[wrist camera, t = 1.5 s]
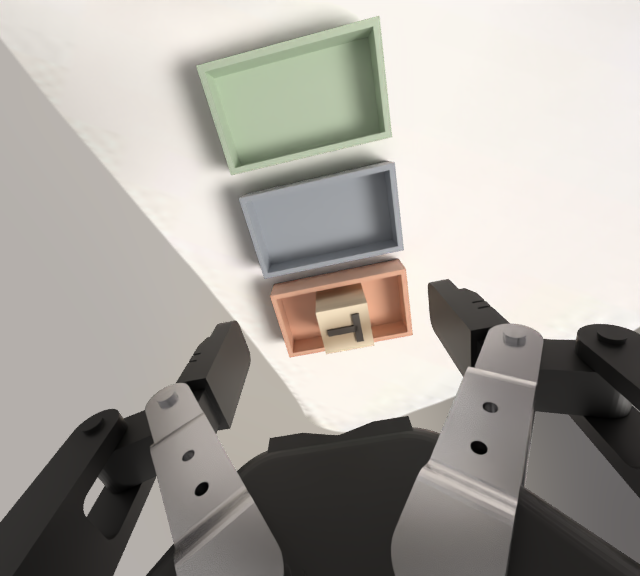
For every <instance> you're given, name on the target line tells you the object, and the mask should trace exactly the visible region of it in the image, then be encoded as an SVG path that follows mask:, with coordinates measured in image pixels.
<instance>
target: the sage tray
mask: <svg viewBox="0 0 640 576" xmlns="http://www.w3.org/2000/svg"><path fill="white" fill-rule="evenodd" d="M196 67H197V70H198V74H199V77H200V80H201V83H202V86H203V89H204V92H205V95H206V98H207V102H208V105H209V108H210V111H211V114H212V117H213V120H214V123H215V126H216V130H217V133H218V136H219V139H220V142H221V145H222V148H223V151H224V154H225V158H226V161H227V164H228V167H229V170H230V173H231V175H235V174H239V173H243V172H247V171H252V170H256V169H260V168H264V167H268V166H272V165H277V164H281V163H285V162H289V161H293V160H298V159H302V158H306V157H310V156H314V155H319V154H323V153H327V152H331V151H335V150H340V149H344V148H348V147H352V146H356V145H361V144H365V143H369V142H373V141H377V140H382V139H386V138H390V137H392V132H391V123H390V113H389V104H388V94H387V84H386V75H385V65H384V56H383V46H382V37H381V27H380V17H379V16H376V17H373V18H369V19H365V20H362V21H358V22H354V23H351V24H347V25H343V26H340V27H336V28H332V29H329V30H325V31H321V32H318V33H314V34H310V35H307V36H303V37H299V38H296V39H292V40H288V41H285V42H281V43H277V44H274V45H270V46H266V47H263V48H259V49H255V50H252V51H248V52H244V53H241V54H237V55H233V56H230V57H226V58H222V59H219V60H215V61H211V62H208V63H204V64H200V65H197V66H196Z"/></svg>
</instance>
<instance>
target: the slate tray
mask: <svg viewBox="0 0 640 576" xmlns="http://www.w3.org/2000/svg"><path fill="white" fill-rule="evenodd" d="M239 201H240V204H241V207H242V210H243V214H244V217H245V220H246V223H247V226H248V229H249V232H250V235H251V238H252V242H253V245H254V248H255V251H256V254H257V257H258V260H259V263H260V266H261V270H262V273H263V276H264V279H266V278H271V277H276V276H280V275H285V274H290V273H295V272H300V271H305V270H310V269H314V268H319V267H324V266H329V265H334V264H339V263H344V262H348V261H353V260H358V259H363V258H368V257H373V256H377V255H382V254H387V253H392V252H397V251H402V250H404V247H403V237H402V228H401V218H400V209H399V199H398V190H397V180H396V171H395V163H394V162H389V161H386V162H381V163H377V164H373V165H368V166H364V167H360V168H356V169H351V170H347V171H343V172H338V173H334V174H330V175H325V176H321V177H317V178H312V179H308V180H304V181H299V182H295V183H291V184H287V185H282V186H278V187H274V188H269V189H265V190H261V191H256V192H252V193H248V194H245V195H243V196H242V197H240V198H239Z"/></svg>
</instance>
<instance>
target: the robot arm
mask: <svg viewBox="0 0 640 576" xmlns="http://www.w3.org/2000/svg"><path fill="white" fill-rule="evenodd" d="M428 297H429V311H430V320H431V324H432V327H433V330H434V332H435V333H436V335H437V336H438V338H439V340H440V341H441V343H442V344H443V346H444V347H445V349H446V351H447V352H448V354H449V355H450V357H451V358H452V360H453V362H454V363H455V365H456V366H457V368H458V369H459V371H460V373H461V374H462V376H463V379H462V382H461V384H460V387H459V389H458V392H457V394H456V396H455V399H454V401H453V404H452V407H451V409H450V411H449V414H448V416H447V419H446V421H445V423H444V426H443V428H442V431H441V433H437V432H434V431H431V430H427V429H421V428H413V427H412V426H411V423H410V420H409V417H408V416H405V417H399V418H392V419H386V420H380V421H374V422H371V423H369V424H366V425H364V426H361V427H359V428H356V429H354V430H351V431H349V432H346V433H344V434H341V435H324V434H311V433H300V434H293V435H287V436H281V437H274V438H270V441H269V447H268V451H266V452H263V453H261V454H260V455H258V456H256V457H254V458H253V459H251V460H250V461H248V462H247V463H246V464H245V465H243V466H242V467H241V468H240V469H239V470H238V471H236V469H235V467H234V466H233V464H232V462H231V460H230V459H229V457H228V455H227V453H226V452H225V450H224V448H223V446H222V444H221V443H220V441H219V439H218V437H217V435H216V433H217V430H223V429H230V427H231V424H232V421H233V418H234V414H235V411H236V408H237V405H238V401H239V398H240V395H241V392H242V389H243V385H244V382H245V379H246V376H247V373H248V369H249V366H250V352H249V349H248V346H247V344H246V341H245V339H244V336H243V334H242V331H241V328H240V326H239V324H238V322H237V321H230V322H225V323H220V324H217V326H216V327H215V329H214V331H213V333H212V335H211V336H210V337H208V338H206V339H205V340H204V341H203V342H202V343H201V344H200V345H199V346H198V347H197V349H196V351H195V352H194V354H193V355H194V356H192V358H191V359H190V361H189V363H188V364H187V366H186V367H185V369H184V371H183V372H182V374H181V376H180V377H179V379H178V381H177V382H176V384H173V385H170V386H168V387H165V388H163V389H162V390H160V391H159V392H157V393H156V394H155V395H154V396H153V397H152V398H151V399H150V400H149V401H148V403H147V404H146V407H145V410H144V411H141V412H140V413H137V414H134V415H131V416H129V417H126V418H124V419H123V417H122V416H121V414H120V413H119V412H118V410H116V409H108V410H104V411H102V412H99V413H97V414H95V415H93V416H91V417H90V418H88V419H87V420H85V421H84V422H83V423H82V424H80V425H79V426H78V427H77V428H76V429H75V430H74V432H73V433H72V434H71V435H70V436H69V438H68V439H67V440H66V441H65V443H64V444H63V445H62V446H61V448H60V449H59V450H58V451H57V453H56V454H55V455H54V457H53V458H52V459H51V460H50V461H49V463H48V464H47V465H46V466H45V468H44V469H43V470H42V471H41V473H40V474H39V475H38V476H37V477H36V479H35V480H34V481H33V483H32V484H31V485H30V486H29V488H28V489H27V490H26V491H25V493H24V494H23V495H22V496H21V497H20V499H19V500H18V501H17V502H16V504H15V505H14V506H13V507H12V509H11V510H10V511H9V512H8V514H7V515H6V516H5V517H4V519H3V520H2V521H1V522H0V576H113V575H114V572H115V570H116V568H117V565H118V563H119V561H120V559H121V556H122V554H123V552H124V550H125V547H126V545H127V543H128V540H129V538H130V536H131V533H132V531H133V529H134V527H135V524H136V522H137V520H138V517H139V515H140V513H141V511H142V508H143V506H144V503H145V501H146V499H147V497H148V495H149V492H150V490H151V488H152V485H153V483H154V481H155V479H156V476H157V479H158V483H159V486H160V491H161V494H162V498H163V503H164V506H165V510H166V514H167V518H168V522H169V526H170V530H171V534H172V538H173V542H174V544H173V545H172V546H171V547H170V548H169V550H168V551H167V552H166V553H165V554H164V555H163V556H162V558H161V559H160V560H159V561H158V562H157V563H156V565H155V566H154V567H153V568H152V569H151V570H150V571H149V573H148V574H147V575H146V576H640V564H639V563H637V562H636V561H634V560H633V559H631V558H630V557H628V556H627V555H625V554H624V553H622V552H621V551H619V550H617V549H616V548H615V547H613V546H612V545H610V544H609V543H607V542H606V541H604V540H603V539H601V538H600V537H598V536H597V535H595V534H594V533H592V532H591V531H589V530H588V529H586V528H585V527H583V526H582V525H580V524H579V523H577V522H576V521H574V520H573V519H571V518H570V517H568V516H567V515H565V514H564V513H562V512H561V511H559V510H558V509H556V508H555V507H553V506H552V505H550V504H549V503H547V502H546V501H544V500H543V499H541V498H540V497H538V496H537V495H536V494H534V493H532V492H531V491H530V490H528V489H527V488H525V483H526V476H527V468H528V460H529V453H530V446H531V439H532V433H533V426H534V419H535V412H536V411H540V412H549V413H560V414H569V416H570V417H571V418H572V419H573V420H574V422H575V423H576V424H577V425H578V426H579V427H580V429H581V430H582V431H583V432H584V433H585V434H586V436H587V437H588V438H589V439H590V440H591V442H592V443H593V444H594V445H595V446H596V447H597V448H598V450H599V451H600V452H601V453H602V454H603V456H604V457H605V458H606V459H607V460H608V461H609V463H610V464H611V465H612V466H613V467H614V469H615V470H616V471H617V472H618V473H619V474H620V476H621V477H622V478H623V479H624V480H625V481H626V483H627V484H628V485H629V486H630V487H631V489H632V490H633V491H634V492H635V493H636V494H637V496H638V497H639V498H640V412H638V411H637V410H636V409H635V408H634V407H633V406H632V404H633V405H634V406H635V407H636V408H637V409H638V410H639V411H640V334H638V333H636V332H634V331H632V330H629V329H626V328H623V327H620V326H615V325H608V324H592V325H587V326H584V327H582V328H580V329H579V330H578V332H577V337H576V340H551V339H543V337H542V335H541V334H540V333H539V332H537V331H536V330H534V329H532V328H530V327H527V326H524V325H519V324H510V323H509V322H508V321H507V320H506V319H504V318H503V317H502V316H501V315H500V314H499V313H498V312H497V311H496V310H495V309H494V308H492V307H490V305H489V304H488V303H487V302H486V301H484V299H483V298H482V297H480V296H479V295H478V294H477V293H475V292H473V291H470V290H468V289H466V288H463V289H458V288H457V287H456V286H455V285H454V284H453V283H452V282H451V281H450V280H449V279H446V280H441V281H436V282H430V283H429V284H428ZM97 477H98V478H99V479H100V480H101V481H102V482H103V484H104V485H105V487H104V488H103V490H102V492H101V493H100V495H99V497H98V498H97V500H96V502H95V504H94V506H93V507H92V509H91V511H90V512H89V514H88V516H87V517H86V516H85V514H84V511H83V504H84V500H85V497H86V495H87V493H88V492H89V490H90V488H91V487H92V485H93V484H94V482H95V480H96V479H97Z"/></svg>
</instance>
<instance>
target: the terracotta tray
mask: <svg viewBox="0 0 640 576" xmlns="http://www.w3.org/2000/svg"><path fill="white" fill-rule="evenodd" d="M356 283H361V285H362V289H363V292H364V295H365V298H366V301H367V305H368V311H369V317H370V323H371V329H372V335H373V340H374V342H377V341H383V340H388V339H394V338H399V337H405V336H410V335H413V333H412V324H411V314H410V304H409V295H408V285H407V276H406V269H405V267H404V266H403V264H402V263H401V262H400V260H399V259H395V260H390V261H386V262H381V263H376V264H371V265H366V266H361V267H356V268H351V269H346V270H341V271H337V272H332V273H327V274H322V275H317V276H312V277H307V278H302V279H297V280H292V281H288V282H283V283H278V284H274V285H273V289H272V292H271V295H270V298H271V301H272V304H273V307H274V310H275V313H276V316H277V319H278V323H279V326H280V329H281V332H282V335H283V338H284V341H285V344H286V347H287V351H288V354H289V357H295V356H301V355H306V354H312V353H317V352H322V351H325V347H324V344H323V340H322V336H321V332H320V328H319V324H318V320H317V316H316V291H321V290H326V289H331V288H336V287H341V286H346V285H351V284H356Z"/></svg>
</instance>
